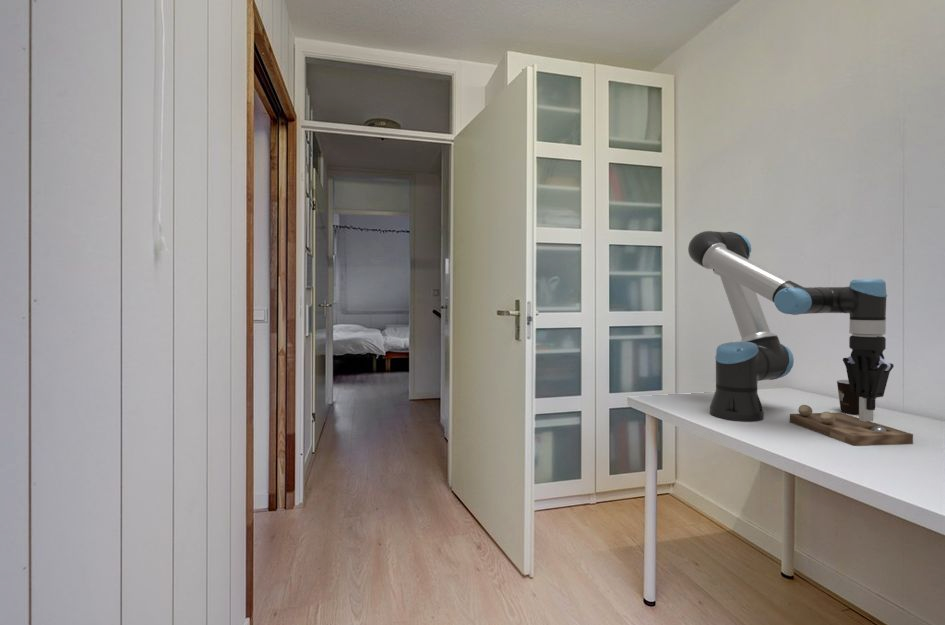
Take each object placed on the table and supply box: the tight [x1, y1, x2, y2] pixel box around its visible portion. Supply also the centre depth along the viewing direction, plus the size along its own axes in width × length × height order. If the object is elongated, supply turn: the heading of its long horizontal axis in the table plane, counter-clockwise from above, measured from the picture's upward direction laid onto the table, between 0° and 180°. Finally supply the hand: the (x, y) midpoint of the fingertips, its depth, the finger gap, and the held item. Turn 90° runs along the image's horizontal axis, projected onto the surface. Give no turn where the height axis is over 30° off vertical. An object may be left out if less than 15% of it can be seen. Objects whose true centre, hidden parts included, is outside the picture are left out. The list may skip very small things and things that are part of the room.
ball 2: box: [820, 411, 835, 424], centre depth 127 cm, size 3×3×3 cm
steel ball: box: [871, 426, 887, 432], centre depth 121 cm, size 3×3×3 cm
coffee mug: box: [836, 379, 859, 416], centre depth 146 cm, size 12×9×10 cm
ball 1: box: [797, 404, 813, 416], centre depth 135 cm, size 3×3×3 cm
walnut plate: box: [789, 411, 914, 446], centre depth 128 cm, size 16×22×2 cm
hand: (866, 420), depth 125 cm, fingers closed
